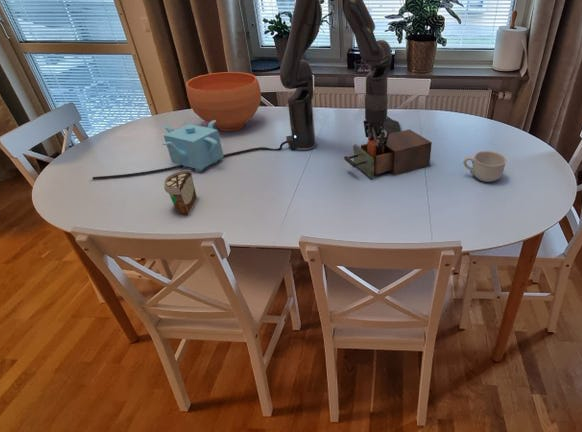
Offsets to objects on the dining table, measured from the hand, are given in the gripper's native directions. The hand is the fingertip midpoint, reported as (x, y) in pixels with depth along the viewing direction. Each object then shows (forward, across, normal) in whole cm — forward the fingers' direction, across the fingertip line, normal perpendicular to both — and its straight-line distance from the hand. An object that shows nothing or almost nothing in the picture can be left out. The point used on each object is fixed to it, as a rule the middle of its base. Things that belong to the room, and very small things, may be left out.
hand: (375, 152), depth 140 cm
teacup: (+7, +24, +30) cm, 39 cm away
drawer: (+6, 0, -1) cm, 6 cm away
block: (0, 0, 0) cm, 0 cm away
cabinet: (+7, 0, +11) cm, 13 cm away
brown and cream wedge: (+7, -7, -66) cm, 66 cm away
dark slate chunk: (+7, -29, +21) cm, 37 cm away
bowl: (+7, -69, -36) cm, 78 cm away
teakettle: (+7, -37, -56) cm, 68 cm away
